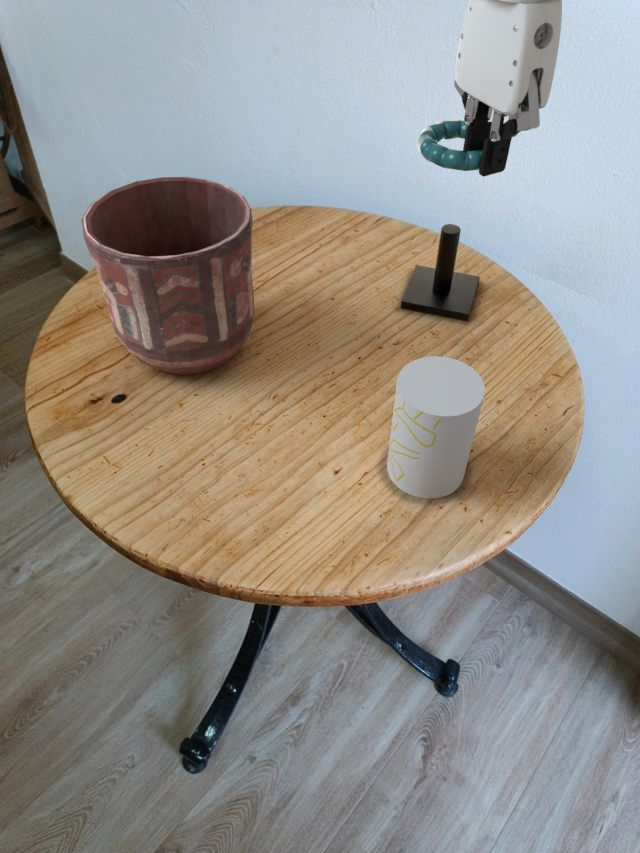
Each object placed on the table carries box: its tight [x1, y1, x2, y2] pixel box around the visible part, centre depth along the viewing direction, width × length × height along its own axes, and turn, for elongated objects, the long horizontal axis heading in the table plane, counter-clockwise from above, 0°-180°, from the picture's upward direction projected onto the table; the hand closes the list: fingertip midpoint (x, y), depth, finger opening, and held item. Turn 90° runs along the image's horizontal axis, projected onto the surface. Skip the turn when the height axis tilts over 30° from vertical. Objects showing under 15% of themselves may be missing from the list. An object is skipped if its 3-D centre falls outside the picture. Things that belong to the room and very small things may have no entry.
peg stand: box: [400, 223, 481, 322], centre depth 90 cm, size 9×9×10 cm
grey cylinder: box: [386, 355, 486, 500], centre depth 68 cm, size 8×8×12 cm
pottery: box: [80, 176, 255, 376], centre depth 80 cm, size 18×18×18 cm
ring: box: [416, 119, 483, 172], centre depth 78 cm, size 10×10×2 cm
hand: (482, 165), depth 76 cm, fingers closed on ring, 2 cm apart
